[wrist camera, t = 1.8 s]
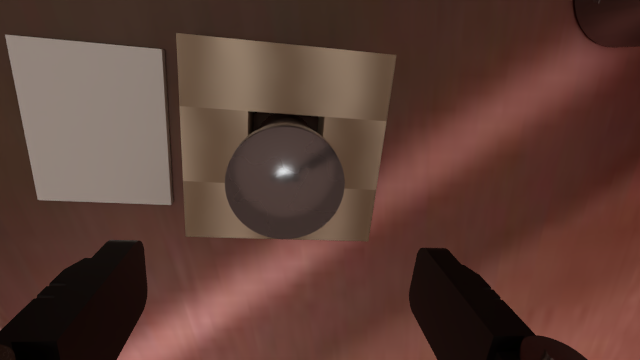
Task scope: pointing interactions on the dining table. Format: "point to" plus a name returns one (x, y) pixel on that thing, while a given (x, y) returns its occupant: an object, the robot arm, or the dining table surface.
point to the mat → (94, 120)
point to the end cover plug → (284, 179)
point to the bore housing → (286, 98)
